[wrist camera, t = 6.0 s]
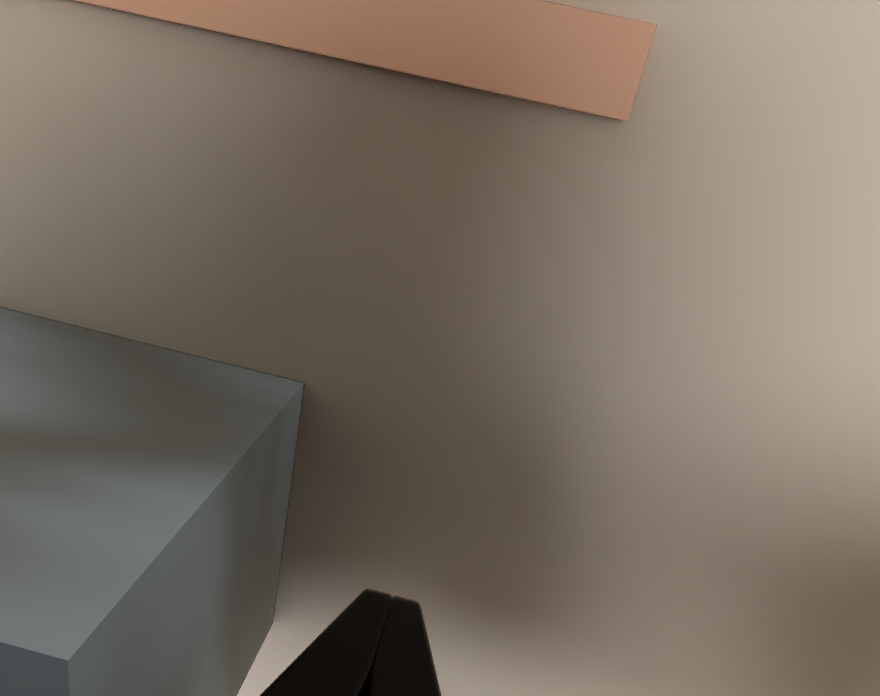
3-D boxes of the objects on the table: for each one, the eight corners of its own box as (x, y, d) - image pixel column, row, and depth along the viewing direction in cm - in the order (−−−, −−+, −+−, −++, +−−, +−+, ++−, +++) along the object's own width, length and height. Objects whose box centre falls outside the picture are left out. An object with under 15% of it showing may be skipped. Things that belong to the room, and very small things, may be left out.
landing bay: (652, 29, 7) (656, 24, 6) (403, 853, 13) (400, 870, 12) (-158, -142, 7) (-185, -153, 7) (-31, 730, 13) (-44, 743, 13)
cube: (303, 382, 9) (68, 660, 4) (272, 624, 11) (83, 1002, 6) (-4, 307, 9) (-547, 491, 4) (17, 555, 11) (-353, 868, 6)
